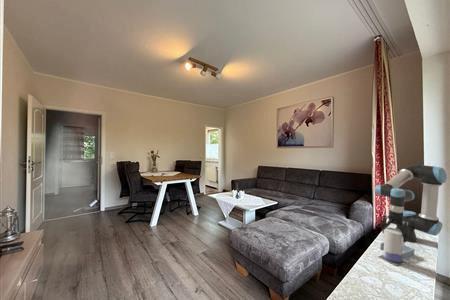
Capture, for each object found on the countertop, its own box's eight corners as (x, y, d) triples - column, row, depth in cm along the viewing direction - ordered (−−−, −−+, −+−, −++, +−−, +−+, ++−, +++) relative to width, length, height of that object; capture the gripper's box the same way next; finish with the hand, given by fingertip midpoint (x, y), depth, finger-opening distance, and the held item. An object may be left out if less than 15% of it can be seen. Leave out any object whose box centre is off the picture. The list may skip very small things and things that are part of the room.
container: (395, 254, 144) (398, 228, 143) (405, 263, 134) (407, 234, 133) (380, 252, 146) (382, 226, 145) (388, 261, 136) (390, 233, 135)
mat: (387, 253, 147) (387, 253, 147) (405, 262, 137) (405, 261, 137) (378, 257, 143) (378, 256, 143) (396, 266, 133) (396, 265, 133)
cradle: (391, 245, 159) (391, 239, 159) (414, 255, 146) (414, 249, 145) (380, 249, 153) (380, 243, 153) (402, 260, 140) (403, 253, 140)
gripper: (375, 206, 147) (372, 235, 148) (413, 218, 126) (410, 251, 127) (381, 205, 150) (379, 233, 151) (420, 216, 129) (416, 249, 130)
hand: (393, 241), depth 139 cm, fingers open, 10 cm apart
